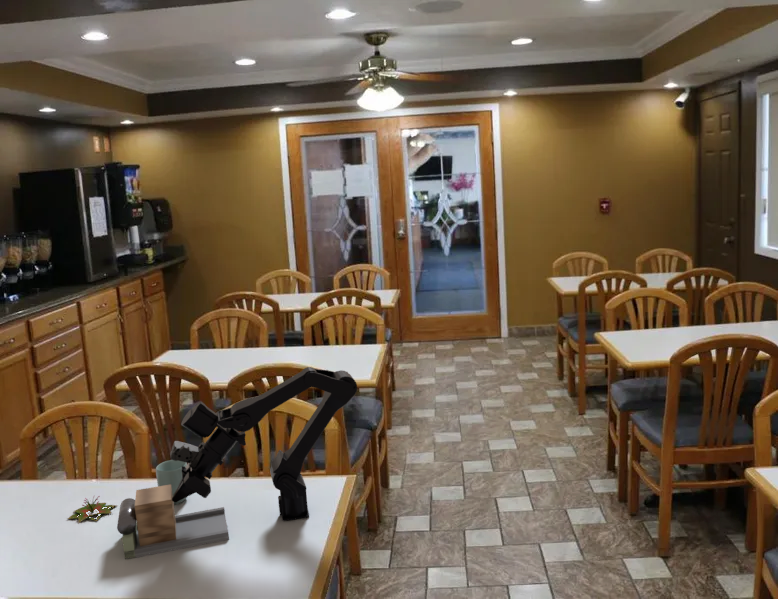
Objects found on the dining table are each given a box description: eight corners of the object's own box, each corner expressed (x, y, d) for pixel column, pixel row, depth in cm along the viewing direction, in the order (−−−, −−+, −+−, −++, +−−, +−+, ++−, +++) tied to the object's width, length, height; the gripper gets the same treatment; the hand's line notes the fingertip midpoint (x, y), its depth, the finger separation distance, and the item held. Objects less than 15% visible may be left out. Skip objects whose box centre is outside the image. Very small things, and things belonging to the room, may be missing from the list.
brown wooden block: (175, 522, 180) (171, 484, 178) (176, 540, 171) (171, 499, 170) (141, 529, 178) (136, 490, 176) (140, 546, 169) (134, 506, 168)
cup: (182, 508, 191) (178, 471, 189) (154, 507, 192) (150, 470, 190) (196, 495, 198) (191, 459, 196) (169, 494, 200) (164, 459, 198)
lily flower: (87, 503, 199) (85, 487, 198) (126, 505, 196) (124, 488, 195) (57, 524, 187) (54, 507, 186) (98, 526, 184) (96, 509, 183)
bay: (224, 513, 186) (221, 479, 184) (229, 539, 173) (225, 503, 171) (124, 532, 179) (119, 497, 178) (120, 560, 166) (115, 522, 165)
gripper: (187, 417, 182) (146, 468, 181) (189, 443, 164) (143, 499, 163) (223, 442, 185) (183, 492, 184) (229, 470, 168) (185, 525, 167)
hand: (173, 501), depth 175 cm, fingers closed, pressing on brown wooden block
